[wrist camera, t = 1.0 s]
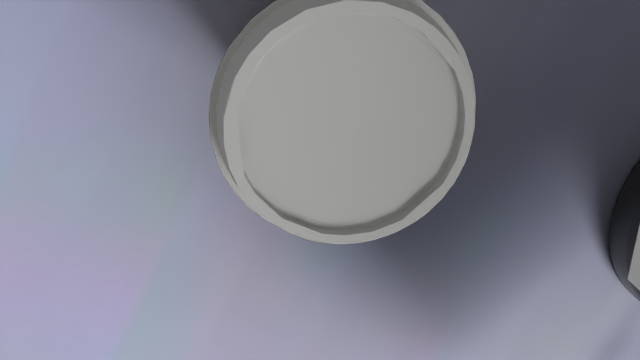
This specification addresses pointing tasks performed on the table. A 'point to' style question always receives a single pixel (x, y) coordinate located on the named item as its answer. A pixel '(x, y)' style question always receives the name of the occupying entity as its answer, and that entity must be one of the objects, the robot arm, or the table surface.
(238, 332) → the table surface
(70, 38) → the table surface
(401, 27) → the disposable coffee cup
